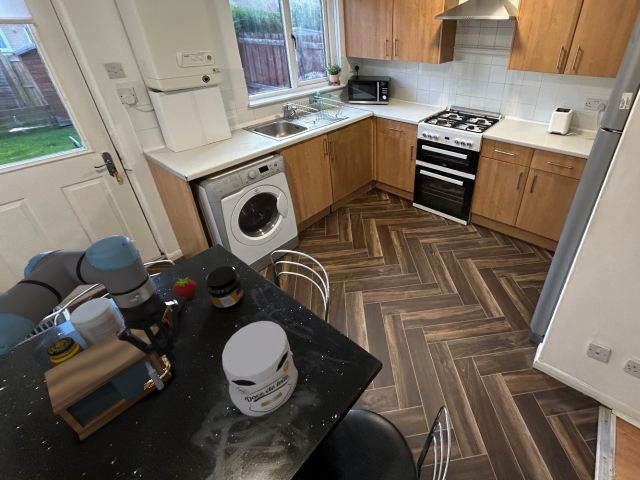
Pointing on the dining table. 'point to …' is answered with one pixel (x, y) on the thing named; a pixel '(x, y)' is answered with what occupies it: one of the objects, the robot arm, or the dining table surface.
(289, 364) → the doce de leite tub
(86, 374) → the cabinet
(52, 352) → the condiment
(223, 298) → the supplement container
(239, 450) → the dining table surface
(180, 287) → the strawberry
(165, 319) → the pastry
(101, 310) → the supplement tub
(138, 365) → the glass door
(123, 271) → the robot arm
